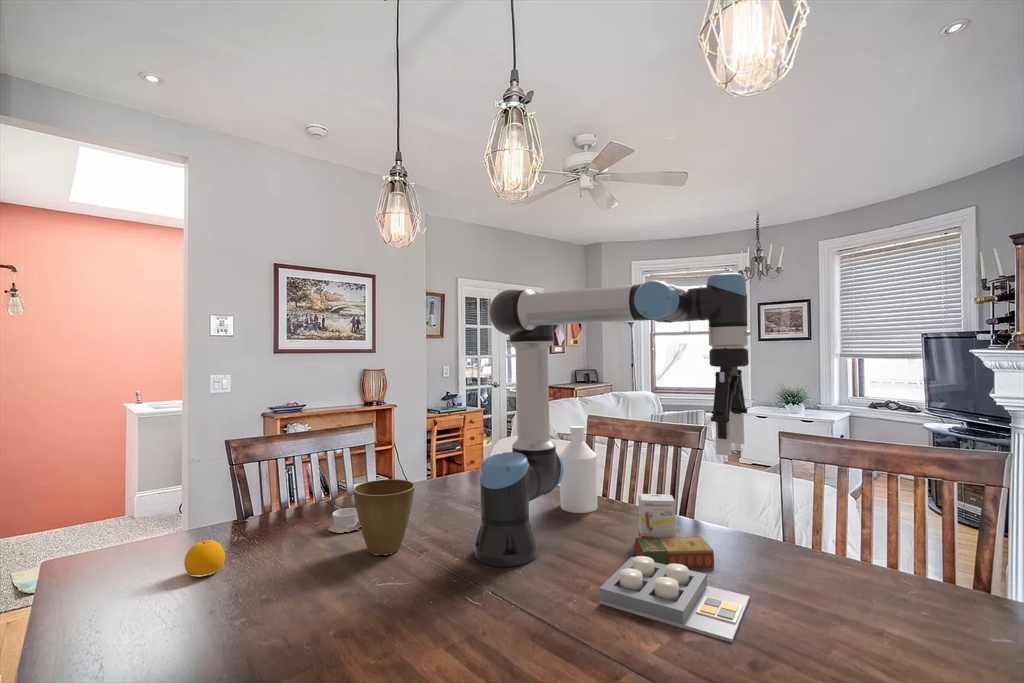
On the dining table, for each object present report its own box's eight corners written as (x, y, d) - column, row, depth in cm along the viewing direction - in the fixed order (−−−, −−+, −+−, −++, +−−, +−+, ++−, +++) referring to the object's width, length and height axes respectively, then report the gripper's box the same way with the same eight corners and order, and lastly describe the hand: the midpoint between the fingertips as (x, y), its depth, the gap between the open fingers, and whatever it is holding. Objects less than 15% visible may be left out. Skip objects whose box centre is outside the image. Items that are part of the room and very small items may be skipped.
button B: (629, 574, 104) (629, 561, 104) (637, 566, 107) (636, 554, 107) (650, 579, 101) (649, 566, 101) (657, 571, 105) (656, 559, 105)
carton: (714, 568, 112) (714, 549, 112) (642, 569, 112) (642, 550, 112) (701, 553, 120) (701, 535, 120) (634, 553, 121) (634, 536, 121)
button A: (616, 588, 98) (615, 574, 98) (624, 579, 102) (624, 566, 102) (637, 594, 95) (637, 580, 96) (645, 584, 99) (645, 571, 99)
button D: (662, 582, 100) (662, 569, 100) (669, 574, 103) (669, 561, 103) (685, 588, 97) (685, 575, 97) (691, 579, 101) (691, 566, 101)
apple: (230, 573, 114) (229, 540, 114) (190, 585, 108) (189, 550, 108) (218, 563, 119) (218, 531, 119) (180, 574, 113) (179, 541, 113)
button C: (651, 597, 94) (650, 583, 94) (658, 588, 98) (658, 574, 98) (674, 604, 92) (674, 589, 92) (681, 594, 95) (681, 580, 95)
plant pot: (370, 568, 114) (369, 498, 115) (344, 549, 126) (343, 486, 126) (427, 550, 124) (425, 486, 124) (397, 534, 135) (396, 475, 136)
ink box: (641, 547, 123) (640, 499, 124) (638, 539, 128) (637, 493, 129) (677, 548, 122) (675, 500, 123) (673, 540, 127) (671, 494, 127)
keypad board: (599, 603, 97) (599, 588, 97) (631, 570, 111) (631, 556, 111) (732, 642, 83) (731, 624, 83) (749, 599, 97) (749, 583, 97)
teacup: (372, 525, 143) (371, 509, 143) (343, 537, 134) (343, 520, 134) (348, 520, 148) (348, 504, 148) (319, 530, 140) (319, 514, 140)
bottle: (556, 502, 161) (554, 424, 161) (592, 500, 162) (590, 423, 162) (564, 514, 149) (562, 430, 149) (602, 512, 150) (601, 429, 151)
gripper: (735, 348, 93) (738, 462, 92) (757, 346, 113) (760, 440, 113) (694, 348, 97) (696, 458, 97) (722, 347, 117) (724, 437, 117)
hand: (730, 448), depth 105 cm, fingers open, 13 cm apart
